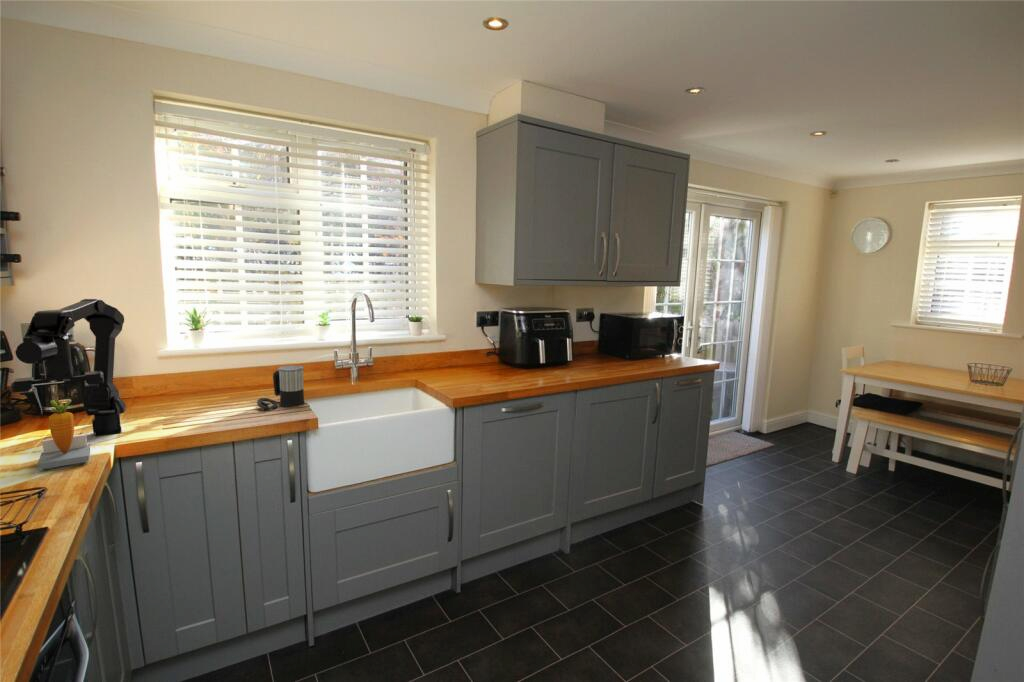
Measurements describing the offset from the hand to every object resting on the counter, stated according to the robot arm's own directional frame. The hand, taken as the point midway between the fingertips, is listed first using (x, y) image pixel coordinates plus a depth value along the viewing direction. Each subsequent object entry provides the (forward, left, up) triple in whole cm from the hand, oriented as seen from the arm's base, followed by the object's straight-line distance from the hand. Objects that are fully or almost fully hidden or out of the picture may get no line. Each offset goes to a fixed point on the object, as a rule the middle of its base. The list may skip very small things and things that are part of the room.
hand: (63, 411), depth 139 cm
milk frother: (-62, -19, -13) cm, 66 cm away
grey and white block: (0, +8, -13) cm, 15 cm away
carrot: (0, +7, -10) cm, 12 cm away
